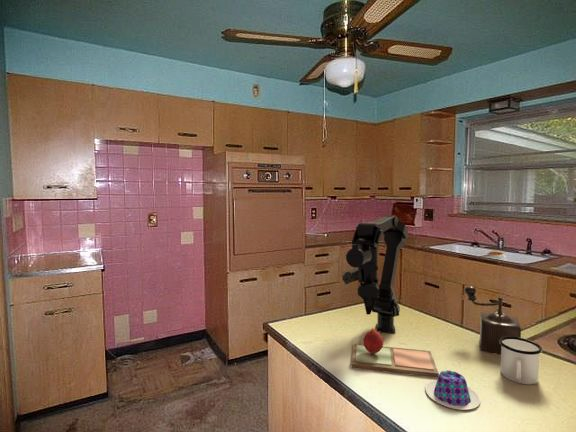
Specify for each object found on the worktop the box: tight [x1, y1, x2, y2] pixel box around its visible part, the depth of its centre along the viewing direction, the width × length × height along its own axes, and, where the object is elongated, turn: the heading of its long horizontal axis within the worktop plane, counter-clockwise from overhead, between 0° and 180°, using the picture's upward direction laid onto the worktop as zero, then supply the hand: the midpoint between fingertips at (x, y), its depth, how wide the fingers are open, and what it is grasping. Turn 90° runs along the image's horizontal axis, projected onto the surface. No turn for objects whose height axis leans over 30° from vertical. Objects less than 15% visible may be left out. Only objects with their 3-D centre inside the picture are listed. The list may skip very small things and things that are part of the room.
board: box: [351, 343, 440, 379], centre depth 97 cm, size 13×23×2 cm, turn 76°
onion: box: [362, 327, 384, 354], centre depth 98 cm, size 6×6×8 cm
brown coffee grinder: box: [463, 285, 522, 356], centre depth 106 cm, size 16×11×18 cm
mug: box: [499, 336, 543, 385], centre depth 87 cm, size 12×10×9 cm
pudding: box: [425, 370, 481, 411], centre depth 81 cm, size 12×12×5 cm
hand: (368, 309), depth 107 cm, fingers open, 9 cm apart
